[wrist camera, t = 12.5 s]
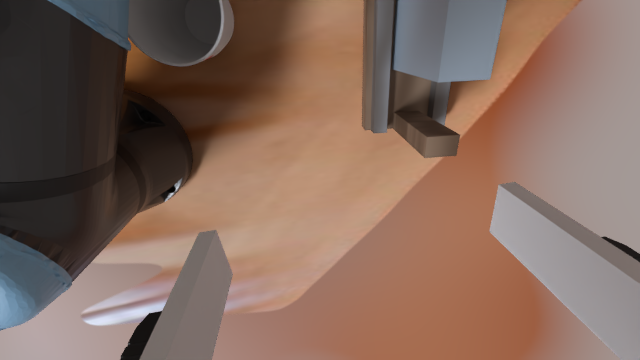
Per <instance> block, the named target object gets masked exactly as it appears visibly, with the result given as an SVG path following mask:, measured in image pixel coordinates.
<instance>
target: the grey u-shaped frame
mask: <svg viewBox="0 0 640 360" xmlns="http://www.w3.org/2000/svg"><path fill="white" fill-rule="evenodd" d="M395 7H396V0H364V26H363V94H362V127H363V128H364V129H365V130H371V131H372V132H373V133H386V132H387V129H390V128H393V129H394V130H395V131H396V132H397V133H398V134H400V135H401V136H402V137H403V138H404V139H405V140H406V141H407V142H408V143H409V144H410V145H411V146H412V147H413V148H415V149H416V150H417V151H418V152H419V153H420V154H421V155H422V156H423V157H424V158H431V157H444V156H456V154H457V148H458V143H459V138H460V135H459V134H458V133H456V132H454V131H452V130H451V129H449V128H447V127H445V126H444V125H445V118H446V111H447V105H448V98H449V91H450V85H451V82H439V83H438V82H435V81H431V80H428V79H424V78H421V77H417V76H414V75H410V74H407V73H404V72H400V71H397V70H393V69H392V56H393V40H394V24H395Z"/></svg>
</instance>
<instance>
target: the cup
mask: <svg viewBox="0 0 640 360" xmlns="http://www.w3.org/2000/svg"><path fill="white" fill-rule="evenodd" d="M233 30H234V15H233V11H232V8H231V5H230V3H229V0H129V20H128V37H129V39H130V40H131V41H132V42H133V43H134V44H135V45H136V46H137V47H138V48H139V49H140V50H141V51H142V52H144V53H145V54H146V55H148V56H149V57H151V58H153V59H154V60H156V61H159V62H161V63H164V64H167V65H171V66H190V65H194V64H197V63H199V62H202V61H204V60H207V59H209V58H212V57H214V56H215V55H217V54H218V53H219V52H221V51H222V49H223V48H224V47H225V46H226V45H227V43H228V42H229V41H230V39H231V37H232V34H233Z"/></svg>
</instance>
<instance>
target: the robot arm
mask: <svg viewBox="0 0 640 360" xmlns="http://www.w3.org/2000/svg"><path fill="white" fill-rule="evenodd" d="M128 20H129V0H0V330H3V329H6V328H10V327H14V326H17V325H20V324H23V323H25V322H26V321H29V320H30V319H32V318H33V317H35V316H36V315H37V314H39V313H40V312H41V311H42V310H43V309H44V308H45V307H47V306H48V305H49V304H50V303H51V302H53V301H54V300H55V299H56V298H57V297H58V296H59V295H61V294H62V293H63V292H65V291H66V290H68V289H69V288H70V286H71V285H72V282H73V281H74V280H75V279H76V278H77V277H78V275H79V274H80V273H81V272H82V271H83V270H84V269H85V268H86V267H87V266H88V265H89V264H90V263H91V262H92V261H93V260H94V259H95V257H96V256H97V255H98V254H99V253H100V252H101V251H102V250H103V249H104V248H105V247H106V246H107V245H108V244H109V243H110V242H111V241H112V239H113V238H114V237H115V236H116V235H117V234H118V233H119V232H120V231H121V230H122V229H123V228H124V227H125V226H126V225H127V224H128V222H129V221H130V220H131V219H132V218H133V217H134V216H135V215H136V214H137V213H140V212H142V211H145V210H147V209H149V208H152V207H154V206H157V205H159V204H161V203H163V202H165V201H167V200H168V199H170V198H171V197H173V196H174V195H175V194H176V193H177V192H178V191H179V189H180V188H181V187H182V186H183V185H184V183H185V182H186V181H187V179H188V177H189V175H190V172H191V168H192V150H191V146H190V142H189V140H188V137H187V135H186V133H185V131H184V130H183V128H182V126H181V125H180V124H179V122H178V121H177V120H176V119H175V118H174V116H173V115H172V114H171V113H170V112H168V111H167V110H166V109H165V108H164V107H162V106H161V105H160V104H158V103H157V102H155V101H153V100H152V99H150V98H148V97H146V96H143V95H141V94H138V93H135V92H132V91H128V90H124V81H125V71H126V62H127V53H128V51H131V44H130V42H129V40H128ZM490 233H491V234H492V235H493V236H495V238H497V239H498V240H499V241H500V242H501V243H502V244H503V245H504V246H505V247H506V248H507V249H508V250H509V251H510V252H511V253H512V254H513V255H514V256H515V257H516V258H517V259H518V260H519V261H520V262H521V263H522V264H523V265H524V266H525V267H526V268H527V269H528V270H529V271H530V272H531V273H532V274H533V275H534V276H535V277H537V278H538V279H539V280H540V281H541V282H542V283H543V284H544V285H545V286H546V287H547V288H548V289H549V290H550V291H551V292H552V293H553V294H554V295H555V296H556V297H557V298H558V299H559V300H560V301H561V302H562V303H563V304H564V305H565V306H566V307H567V308H568V309H569V310H570V311H571V312H572V313H573V314H574V315H576V316H577V317H578V318H579V319H580V320H581V321H582V322H583V323H584V324H585V325H586V326H587V327H588V328H589V329H590V330H591V331H592V332H593V333H594V334H595V335H596V336H597V337H598V338H599V339H600V340H601V341H602V342H603V343H604V344H605V345H606V346H607V347H609V349H610V350H612V351H613V352H614V353H615V354H616V355H617V356H618V357H619V358H620V359H621V360H640V254H639V253H637V252H636V251H634V250H633V249H631V248H629V247H628V246H626V245H624V244H622V243H619V242H617V241H614V240H612V239H609V238H607V237H600V236H598V235H597V234H595V233H593V232H592V231H590V230H589V229H587V228H586V227H584V226H583V225H581V224H579V223H578V222H576V221H575V220H573V219H572V218H570V217H568V216H567V215H565V214H564V213H562V212H561V211H559V210H558V209H556V208H554V207H553V206H551V205H550V204H548V203H547V202H545V201H544V200H542V199H540V198H539V197H537V196H536V195H534V194H533V193H531V192H530V191H528V190H526V189H525V188H523V187H522V186H520V185H519V184H517V183H516V182H512V183H506V184H500V185H499V186H498V191H497V196H496V202H495V207H494V212H493V217H492V222H491V227H490ZM232 275H233V273H232V271H231V268H230V265H229V263H228V260H227V257H226V255H225V252H224V249H223V247H222V244H221V241H220V239H219V236H218V233H217V231H216V230H213V231H206V232H200V233H199V234H198V236H197V238H196V241H195V243H194V245H193V247H192V249H191V251H190V253H189V255H188V258H187V260H186V262H185V264H184V266H183V268H182V270H181V272H180V275H179V277H178V279H177V281H176V283H175V285H174V287H173V289H172V292H171V294H170V296H169V298H168V300H167V302H166V304H165V306H164V309H163V311H160V312H154V313H149V314H148V315H147V316H146V317H145V319H144V320H143V321H142V322H141V323H140V324H139V325H138V326H137V328H136V329H135V331H134V333H133V335H132V337H131V338H130V340H129V342H128V346H127V347H126V348H125V350H124V352H123V353H122V355H121V360H212V356H213V352H214V348H215V344H216V340H217V336H218V332H219V328H220V324H221V320H222V316H223V312H224V308H225V304H226V300H227V295H228V291H229V287H230V283H231V279H232Z"/></svg>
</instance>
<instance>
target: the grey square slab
mask: <svg viewBox="0 0 640 360" xmlns="http://www.w3.org/2000/svg"><path fill="white" fill-rule="evenodd" d="M506 2H507V0H396V7H395V24H394V40H393V56H392V69H393V70H397V71H400V72H404V73H407V74H410V75H414V76H417V77H421V78H424V79H428V80H431V81H435V82H438V83H439V82H455V81H471V80H488V79H490V77H491V72H492V68H493V63H494V58H495V54H496V49H497V44H498V39H499V35H500V30H501V25H502V20H503V16H504V11H505V6H506Z"/></svg>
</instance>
